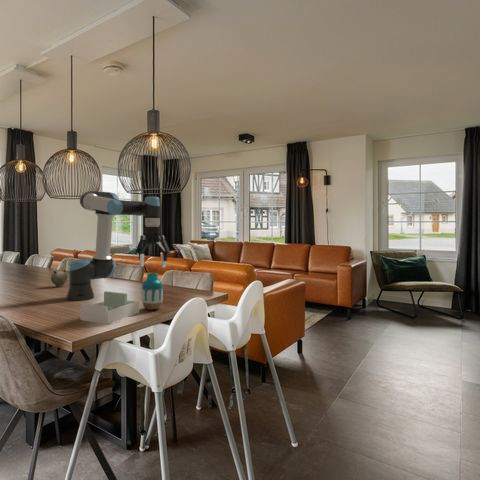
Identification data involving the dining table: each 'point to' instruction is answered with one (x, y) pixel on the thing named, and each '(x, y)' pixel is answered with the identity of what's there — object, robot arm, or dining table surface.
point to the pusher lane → (107, 312)
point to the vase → (152, 292)
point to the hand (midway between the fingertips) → (152, 266)
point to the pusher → (114, 299)
